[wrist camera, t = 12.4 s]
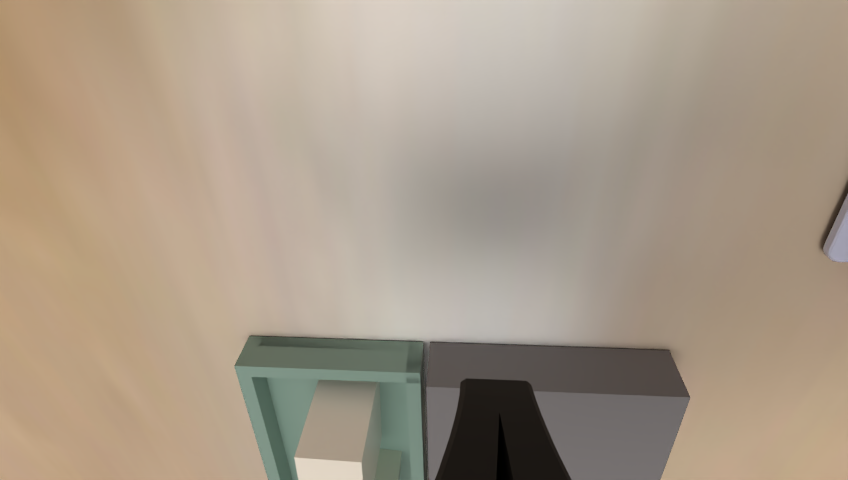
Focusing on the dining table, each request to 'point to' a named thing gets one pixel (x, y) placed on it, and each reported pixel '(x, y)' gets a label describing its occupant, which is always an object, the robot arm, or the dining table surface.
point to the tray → (331, 360)
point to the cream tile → (341, 432)
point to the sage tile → (388, 465)
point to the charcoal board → (572, 402)
